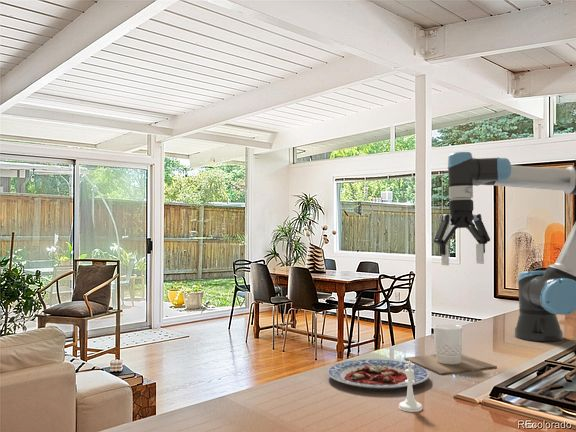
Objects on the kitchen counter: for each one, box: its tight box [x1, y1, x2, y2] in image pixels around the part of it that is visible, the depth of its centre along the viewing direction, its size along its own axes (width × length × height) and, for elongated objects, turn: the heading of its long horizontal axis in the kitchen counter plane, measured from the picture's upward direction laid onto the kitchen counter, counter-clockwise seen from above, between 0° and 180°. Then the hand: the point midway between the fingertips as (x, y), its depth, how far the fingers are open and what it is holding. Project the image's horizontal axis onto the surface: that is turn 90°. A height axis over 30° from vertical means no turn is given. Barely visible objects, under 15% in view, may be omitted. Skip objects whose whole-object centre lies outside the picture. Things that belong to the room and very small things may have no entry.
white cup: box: [433, 323, 463, 365], centre depth 147 cm, size 8×8×10 cm
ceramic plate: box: [327, 358, 430, 390], centre depth 133 cm, size 26×26×3 cm
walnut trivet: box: [404, 353, 498, 376], centre depth 147 cm, size 18×18×1 cm
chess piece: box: [398, 361, 423, 413], centre depth 111 cm, size 5×5×10 cm
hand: (463, 264), depth 168 cm, fingers open, 13 cm apart
